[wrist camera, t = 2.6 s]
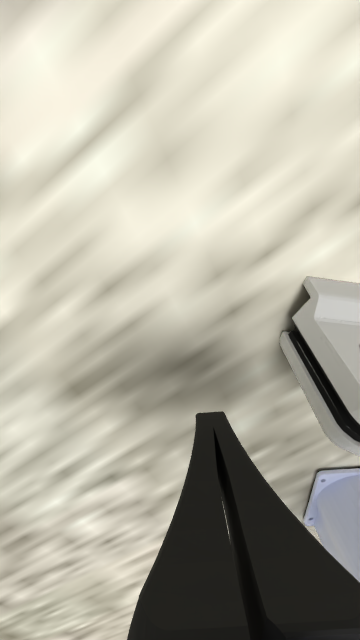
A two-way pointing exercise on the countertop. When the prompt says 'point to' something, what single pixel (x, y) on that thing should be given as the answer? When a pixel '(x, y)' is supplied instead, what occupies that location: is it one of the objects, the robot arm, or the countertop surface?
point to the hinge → (329, 357)
